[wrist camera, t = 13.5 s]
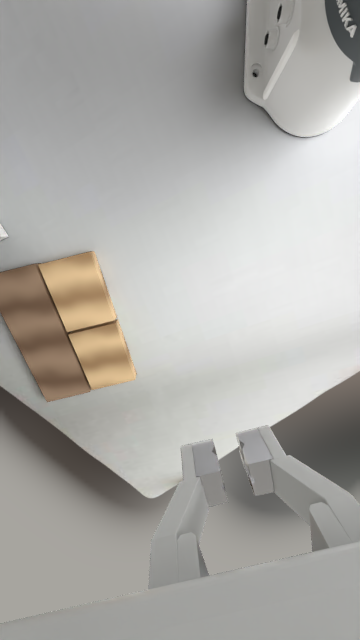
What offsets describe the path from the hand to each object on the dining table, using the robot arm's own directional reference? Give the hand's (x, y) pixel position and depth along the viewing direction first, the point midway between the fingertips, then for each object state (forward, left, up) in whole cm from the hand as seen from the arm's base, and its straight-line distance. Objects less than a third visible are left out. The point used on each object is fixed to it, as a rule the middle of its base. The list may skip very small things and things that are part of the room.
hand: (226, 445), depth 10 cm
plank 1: (-6, -15, -29) cm, 33 cm away
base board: (0, -24, -29) cm, 38 cm away
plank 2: (+6, -15, -29) cm, 33 cm away
